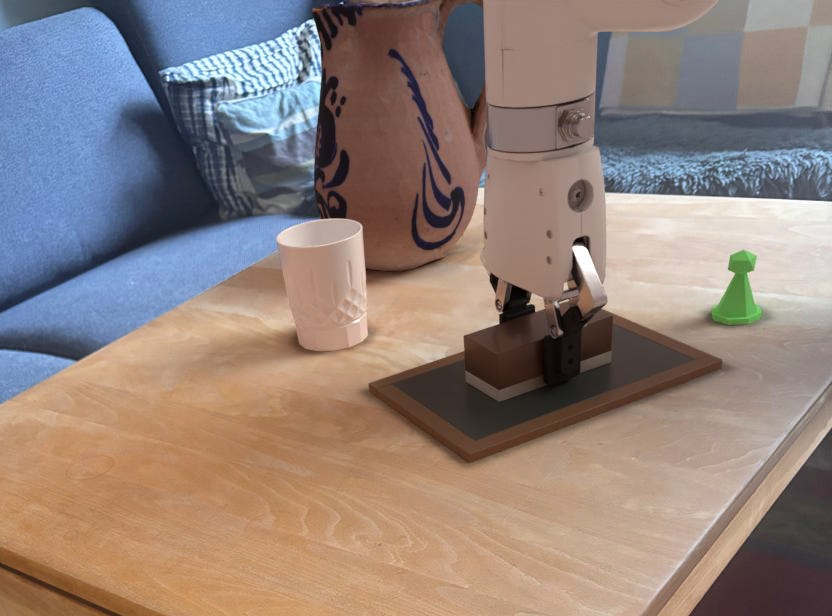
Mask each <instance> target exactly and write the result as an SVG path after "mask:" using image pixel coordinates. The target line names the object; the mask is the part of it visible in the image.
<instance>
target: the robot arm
mask: <svg viewBox="0 0 832 616" xmlns="http://www.w3.org/2000/svg"><path fill="white" fill-rule="evenodd" d="M719 1H720V0H483V9H482V10H483V12H482V13H483V43H484V45H483V46H484V48H483V49H484V81H485V85H486V123H487V127H486V166H485V173H484V187H483V188H484V189H483V190H484V191H483V246H484V247H483V248H482V249H481V252H480V261H481V263H482V265H483V267H484V269H485V270H486V273H487V274H488V276H489V283H490V286H491V287H492V289H493V291H494V294H495V297H494V307H495V309H496V311H497V312H498V313H499V314H498V324H500V323H503V322H506V321H509V320H513V319H516V318H519V317H522V316H525V315H528V314H531V313H534V312H536V305H535V304H533V303H530V302H531V298H532V295H536V296H538V297H541V298H542V299H543V304H544V309H545V311H546V316H547V322H548V328H549V333H550V334H549V335H546V336H544V364H543V379H544V383H546V384H548V385H550V386H551V385H554V384H557V383H559V382H562V381H565V380H568V379H571V378H573V377H576V376H578V375H579V373H580V364H581V332H582V330H584V329H586V327H587V323H588V322H589V321H590V319H591V318H592V317H593V316H594V314H596V313H597V312H598V311H599V310H600V309H603V308H604V307H605V306H607V304H608V295H607V293H606V291H605V287H604V286H603V284H604V282H605V280H606V275H607V274H606V272H607V206H606V205H607V203H606V191H605V190H606V189H605V179H604V171H603V163H602V157H601V152H600V148H599V147H598V146H597V145H594V144H595V118H596V87H597V63H598V41H599V40H598V38H599V37H598V36H599V33H603V32H606V33H607V32H612V33H613V32H615V33H616V32H617V33H618V32H619V33H620V32H623V33H624V32H626V33H630V32H631V33H661V32H670V31H673V30H674V31H675V30H678V29H681V28H683V27H684V28H685V27H686V26H688V25H690V24H693V23H694V22H696V21H698V20H699V19H701V18H702V17H703V16H705V15H706V14H707V13H709V12H710V11H711V9H713V8H714V7H715V6H716V4H717V3H718V2H719ZM565 283H567V288H566V289H564V286H565ZM565 301H569V305H570V308H569V309H568V310H567V311H566V312H565V313H564V314H563V315H562V317H561V311H560V305H559V304H560V303H562V302H565Z"/></svg>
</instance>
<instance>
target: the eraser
mask: <svg viewBox="0 0 832 616" xmlns="http://www.w3.org/2000/svg"><path fill="white" fill-rule="evenodd" d="M559 305H560V311H561V317H562V315H563V314H564V313H565V312H566V311H567V310H568V309H569V308H570V305H569V300H566V301H563V302H560V303H559ZM612 330H613V315H612V314H609V313H607V312H605V311H602V310H599V311H598V312H597V313H596V314H594V316H593V317H592V318H591V319H590V321H589V322H588V323H587V327H586V329H584V330H582V332H581V364H580V373H582V372H585V371H588V370H591V369H593V368H596V367H599V366H602V365H605V364H607V363H610V362H611V350H612ZM549 334H550V333H549V328H548V322H547V316H546V311H545V308H543V309H540V310H536V311H535V312H534V313H531V314H528V315H525V316H522V317H519V318H516V319H513V320H509V321H506V322H503V323H500V324H499V323H498V324H495V325H491V326H489V327H485V328H483V329H479V330H477V331H474V332H471V333H467V334H465V335H463V351H464V356H465V370H466V371H465V377H466V382H467V383H469V384H470V385H472V386H474V387H475V388H477V389H478V390H480V391H482V392H483V393H485V394H487V395H488V396H490V397H492V398H493V399H495V400H497V401H498V402H501V401H504V400H507V399H510V398H512V397H515V396H518V395H521V394H524V393H526V392H529V391H532V390H535V389H537V388H540V387H543V386H546V385H548V384H546V383H544V379H543V364H544V336H546V335H549Z"/></svg>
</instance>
